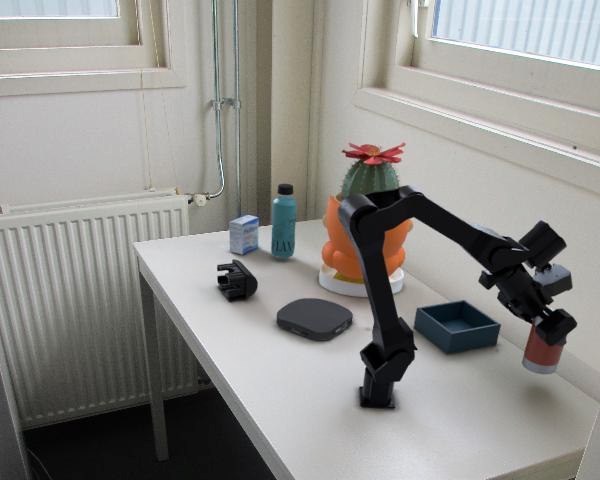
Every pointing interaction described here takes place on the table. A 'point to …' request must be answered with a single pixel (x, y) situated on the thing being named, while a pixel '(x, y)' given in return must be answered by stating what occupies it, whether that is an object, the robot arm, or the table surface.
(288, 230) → the beverage bottle
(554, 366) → the tin can
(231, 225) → the medicine box
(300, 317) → the media streaming box
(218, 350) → the table surface
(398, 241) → the potted cactus
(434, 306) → the tote
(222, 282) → the end cap
